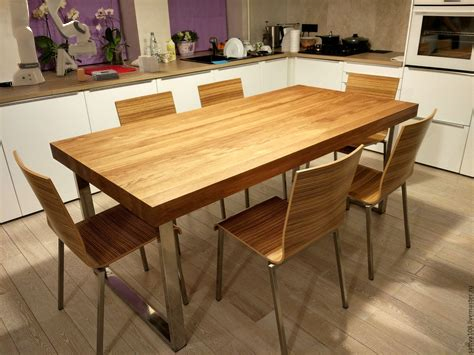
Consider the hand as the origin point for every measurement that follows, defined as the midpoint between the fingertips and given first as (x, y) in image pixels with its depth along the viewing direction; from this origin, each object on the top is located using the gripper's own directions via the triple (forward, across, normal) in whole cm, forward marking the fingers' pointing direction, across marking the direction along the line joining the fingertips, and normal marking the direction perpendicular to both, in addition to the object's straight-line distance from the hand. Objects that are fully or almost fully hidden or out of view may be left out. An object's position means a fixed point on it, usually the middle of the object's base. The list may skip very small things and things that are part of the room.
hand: (82, 58), depth 295 cm
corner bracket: (-2, +47, +21) cm, 52 cm away
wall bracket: (-10, -20, +30) cm, 38 cm away
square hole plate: (+13, +16, +7) cm, 21 cm away
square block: (+18, 0, +2) cm, 18 cm away
